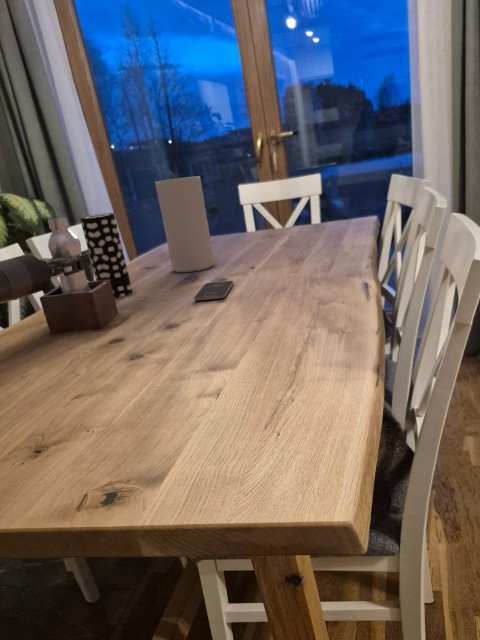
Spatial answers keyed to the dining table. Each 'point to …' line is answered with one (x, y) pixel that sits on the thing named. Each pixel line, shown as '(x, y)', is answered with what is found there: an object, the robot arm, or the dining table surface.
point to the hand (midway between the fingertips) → (76, 259)
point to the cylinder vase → (185, 223)
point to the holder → (79, 308)
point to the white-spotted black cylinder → (107, 252)
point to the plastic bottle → (67, 255)
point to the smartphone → (214, 290)
